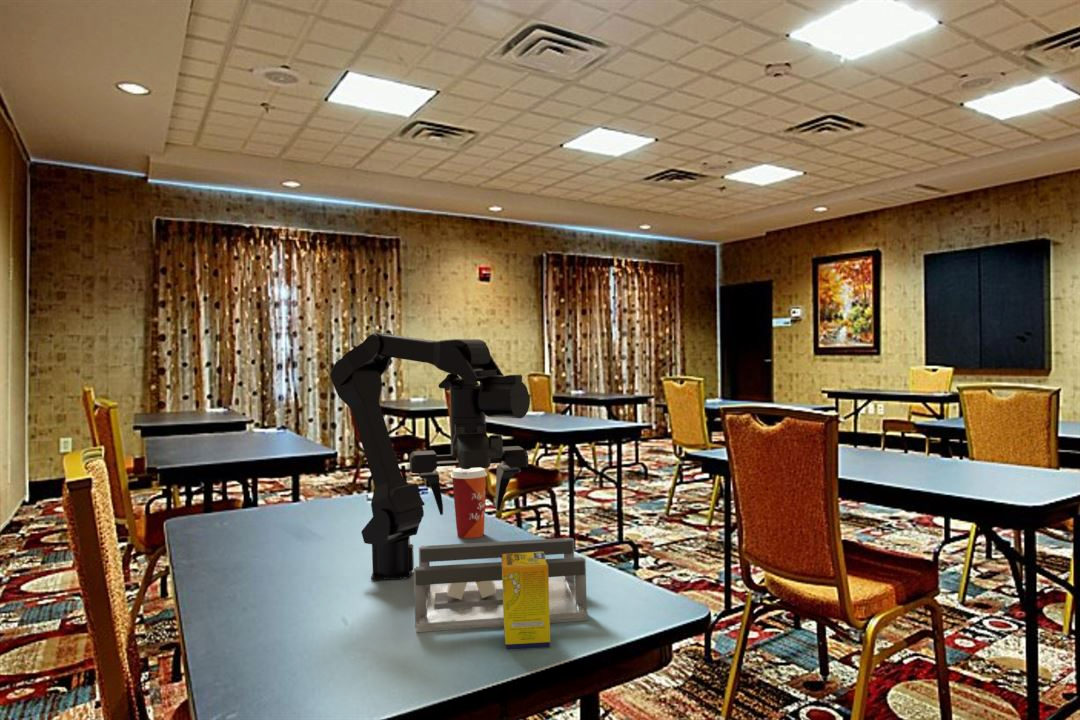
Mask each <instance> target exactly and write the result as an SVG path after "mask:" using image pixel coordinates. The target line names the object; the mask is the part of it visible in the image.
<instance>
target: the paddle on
mask: <svg viewBox="0 0 1080 720" xmlns="http://www.w3.org/2000/svg"><path fill="white" fill-rule="evenodd" d="M467 583H468V582H463V583H448V584H449V586H448V590H447V596H450V597H453V598H457V599H460V600H461V599H462V596H463V593H464V590H465V587H466V584H467Z"/></svg>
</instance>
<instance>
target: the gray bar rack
mask: <svg viewBox="0 0 1080 720" xmlns="http://www.w3.org/2000/svg"><path fill="white" fill-rule="evenodd" d="M574 541H575V540H574V538H572V537H561V538H558V537H557V538H544V539H543V538H541V539H523V540H506V541H505V540H504V541H488V542H474V543H473V542H468V543H455V544H454V543H452V544H437V545H436V544H434V545H420V546H419V547H418V564H419V565H418V566H416V567H415V568H413V583H414V584H413V585H414V587H413V588H414V589H413V590H414V591H413V593H414V616H415V617H414V621H415V622H414V623H415V624H414V625H415V626H414V627H416V622H417V619H419V617H420V615H424V614H426V617H427V612H426V589H429V591H430V585H443V584H449V583H463V582H467V583H475V582H479V581H502V561H496V562H495V561H494V562H478V563H477V562H476V563H475V562H474V563H461V564H460V563H459V564H445V565H444V564H443V565H430V563H431V562H433V563H434V562H445V561H446V562H450V561H468V560H470V561H471V560H483V559H499V558H500V559H502V554H509V553H529V552H544V554H545V556H553V555H563V557H561V558H545V559H546V562H547V564H548V578H555V577H564V576H565V583H566V580H571V581H572V583H574V585H575V598H576V607H577V604H583V606H584V608H586V610H587V611H588V607H587V605H588V604H587V602H588V601H587V597H588V596H587V569H586V568H587V565H586V562H587V561H586V558H585V557H582V556H581V557H580V556H577V557H576V556H575V546H574V544H575V543H574Z"/></svg>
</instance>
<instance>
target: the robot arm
mask: <svg viewBox="0 0 1080 720" xmlns="http://www.w3.org/2000/svg"><path fill="white" fill-rule="evenodd" d="M393 358H394V359H400V360H406V361H412V362H413V361H414V362H418V363H419V362H420V363H425V364H430V365H432V366H434V367H435V368H437V370H440V371H442V372H445V373H448V374H447V375H446V377H445V378H444V379H443V380H442V381H440V383H439V384H438V388H439V389H449V411H450V412H449V413H450V416H449V417H450V419H449V421H450V422H449V423H450V425H449V426H450V454H437V453H436V452H435V450H432V449H431V450H416V451H415V450H414V451H412V452H411V453H410V454H409V470H410V472H411V474H415V475H416V474H417V475H418V477H419V478H420V479H426V480H427V482H428V484H429V486H430V489H431V492H432V494H433V497H434V500H435V502H436V505H437V509H438V512H439V515H440V516H442V515H444V504H443V496H442V492H441V490H442V489H441V483H440V474H439V472H438V471H437V470H438V467H455V466H458V468H461V469H470V468H479V467H481V468H485V469H487V468H488V469H489V468H490V466H491V465H492V464H497V465H496V475H495V476H496V477H495V479H496V480H495V497H494V498H495V509H496V510H495V511H500V510H501V506H502V504H503V500H504V498H505V494H506V490H507V489H508V488H507V487H509V486H508V485H509V483H510V481H511V479H512V478H513V476H514V475H515V474H516V473H517V474H519V473H521V468H529V453H528V452H527V450H525V449H524V448H523V447H521V446H520V445H515V446H514V445H513V446H510V445H509V446H504V443H503V442H504V441H503V437H502V434H490V435H489V436H488V434H487V424H486V423H487V418H486V417H488V418H498V419H500V418H501V419H502V418H503V419H522V418H524V417H525V416H526V415H527V414H528V412H529V409H530V405H531V395H530V394H529V390H528V387H527V386H526V384H525V383H524V382H523V376H522V374H507V375H504V374H503V373H502V371H501V369H500V368H499V366H498V364H497V363H496V361H495V359H494V358H493V356H492V355H491V352H490V349H489V347H488V345H487V342H485V341H484V340H482V339H473V338H472V339H470V338H469V339H465V338H462V339H461V338H458V339H456V338H453V339H444V340H443V339H441V340H432V339H431V340H430V339H425V338H417V337H409V336H403V335H402V336H401V335H394V334H392V333H389V332H388V333H387V332H383V333H382V332H376V333H375V332H374V333H372V334H369V336H368V335H367V337H366V338H365V340H363V342H362V343H360V344H359V345H356V346H355V347H354V348H352V349H351V350H349V351H348V352H346V353H344V355H343V356H342V357H341V358H340V359H337V361H336V362H335V363H334V365H333V368H331V371H330V380H331V384H332V386H333V388H334V390H335V391H336V394H337V396H338V397H339V399H341V401H342V402H343V403H344V404H345V405H346V406H348V408H349V409H350V410H351V413H352V416H353V419H354V422H355V426H356V430H357V433H358V435H359V439H360V443H361V445H362V449H363V452H364V456H365V459H366V462H367V465H368V468H369V473H370V475H371V478H372V482H373V487H374V488H373V492H372V493H373V494H372V496H371V497H372V498H371V502H370V507H371V513H372V517H371V519H370V520H369V521H368V523H367V524H366V525H365V526H364V528H363V529H362V530H361V536H362V539H363V543H364V544H368V545H371V557H372V558H371V559H372V574H371V576H370V581H379V580H396V579H397V580H399V579H409V578H410V577H411V573H412V572H414V567H415V563H414V562H415V561H414V560H415V558H414V553H415V552H414V544H413V543H411V540H410V537H413V536H416V535H418V531H419V527H420V524H421V523H422V520H423V517H424V515H425V512H424V507H423V506H425V505H426V504H425V502H424V501H423V499H422V496H421V493H420V488H419V485H418V484H417V483H416V482H415V483H411V484H410V483H408V481H406V480H405V478H404V477H403V475H402V472H401V468H400V465H399V463H398V458H397V456H396V452H395V449H394V446H393V443H392V440H391V436H390V433H389V430H388V427H387V424H386V420H385V417H384V414H383V411H382V407H381V405H380V398H381V394H382V390H383V381H382V376H383V374H385V372H386V371H387V370H388V369H389V366H390V363H391V360H392V359H393Z"/></svg>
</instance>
